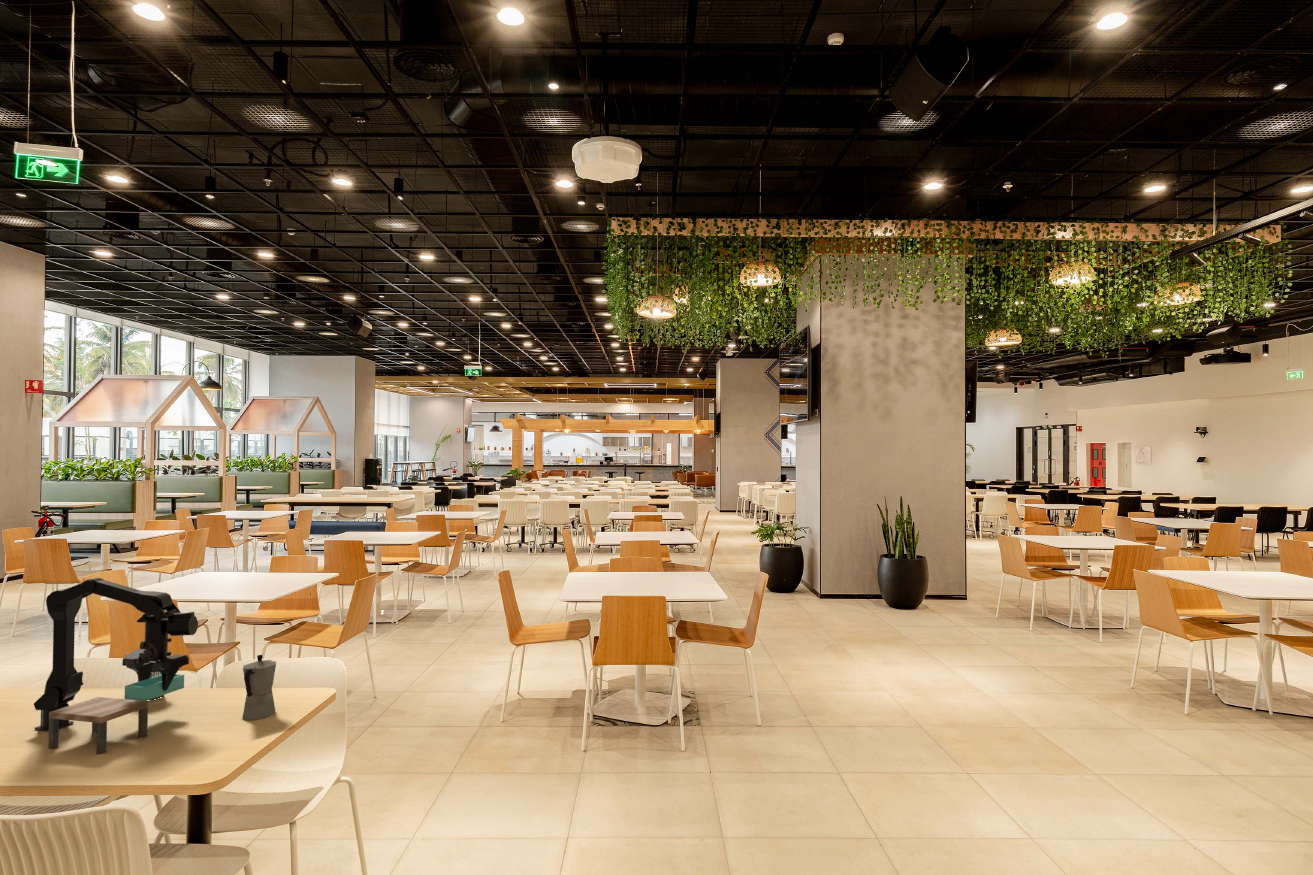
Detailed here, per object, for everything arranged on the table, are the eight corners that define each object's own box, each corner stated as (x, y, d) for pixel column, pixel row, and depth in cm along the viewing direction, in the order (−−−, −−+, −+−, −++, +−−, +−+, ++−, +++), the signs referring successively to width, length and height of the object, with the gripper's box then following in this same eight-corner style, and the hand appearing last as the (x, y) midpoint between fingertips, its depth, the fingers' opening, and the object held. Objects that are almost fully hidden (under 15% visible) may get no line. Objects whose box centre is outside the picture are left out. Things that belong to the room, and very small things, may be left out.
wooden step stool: (48, 748, 189) (49, 712, 190) (97, 730, 202) (98, 696, 202) (100, 754, 185) (101, 716, 185) (147, 735, 198) (148, 700, 198)
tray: (124, 699, 204) (124, 685, 205) (165, 686, 217) (165, 673, 217) (143, 701, 203) (144, 687, 203) (184, 687, 215) (184, 674, 215)
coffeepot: (253, 708, 220) (253, 649, 221) (284, 706, 221) (285, 648, 222) (227, 726, 205) (228, 663, 205) (262, 724, 205) (262, 661, 206)
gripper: (104, 641, 205) (103, 695, 204) (156, 644, 201) (155, 700, 200) (141, 632, 216) (140, 684, 215) (190, 635, 211) (189, 688, 211)
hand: (155, 689), depth 210 cm, fingers closed on tray, 7 cm apart
